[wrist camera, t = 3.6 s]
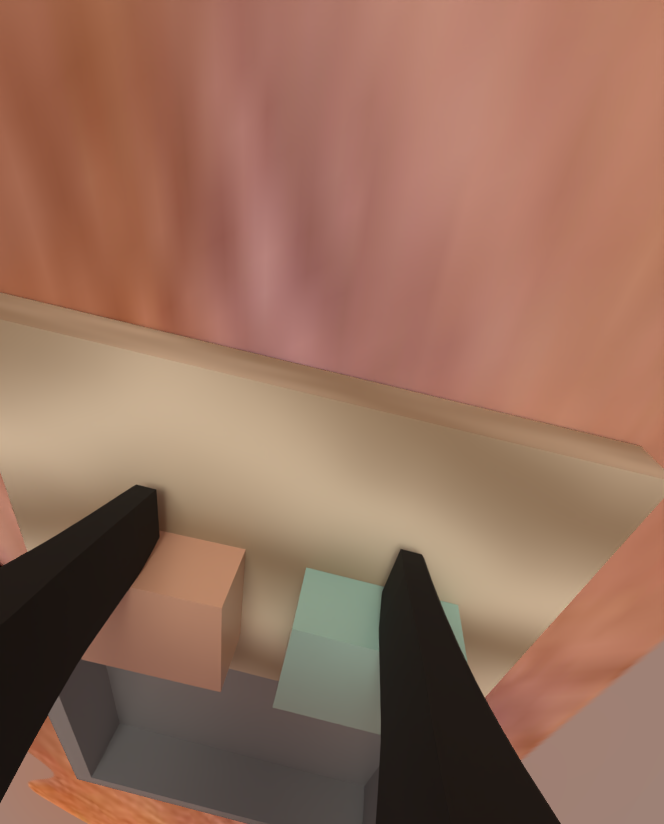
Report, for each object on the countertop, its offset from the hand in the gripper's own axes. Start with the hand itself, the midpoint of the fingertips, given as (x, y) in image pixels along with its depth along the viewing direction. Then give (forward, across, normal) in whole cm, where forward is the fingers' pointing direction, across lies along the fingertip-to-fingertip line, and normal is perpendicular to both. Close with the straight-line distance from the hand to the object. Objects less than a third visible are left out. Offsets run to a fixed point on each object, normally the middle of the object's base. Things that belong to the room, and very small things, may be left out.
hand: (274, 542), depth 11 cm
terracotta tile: (0, +3, +4) cm, 5 cm away
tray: (+2, 0, +16) cm, 16 cm away
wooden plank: (+2, 0, +2) cm, 3 cm away
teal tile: (0, -4, +4) cm, 5 cm away
